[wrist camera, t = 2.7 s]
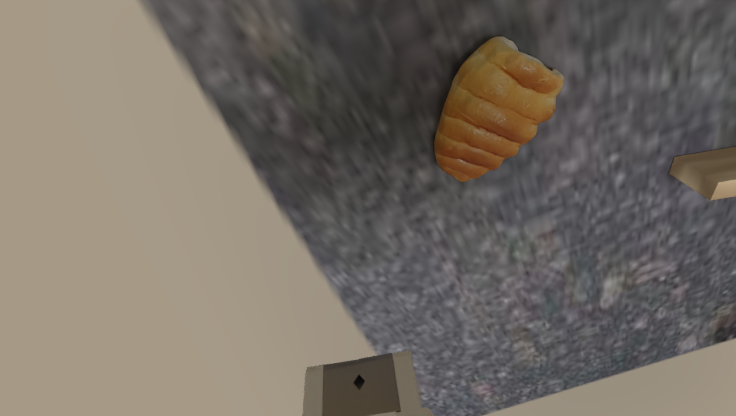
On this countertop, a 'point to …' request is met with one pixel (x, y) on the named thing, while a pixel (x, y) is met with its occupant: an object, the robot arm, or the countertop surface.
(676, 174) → the wooden wall rack
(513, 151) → the pastry
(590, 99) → the countertop surface
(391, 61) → the countertop surface
